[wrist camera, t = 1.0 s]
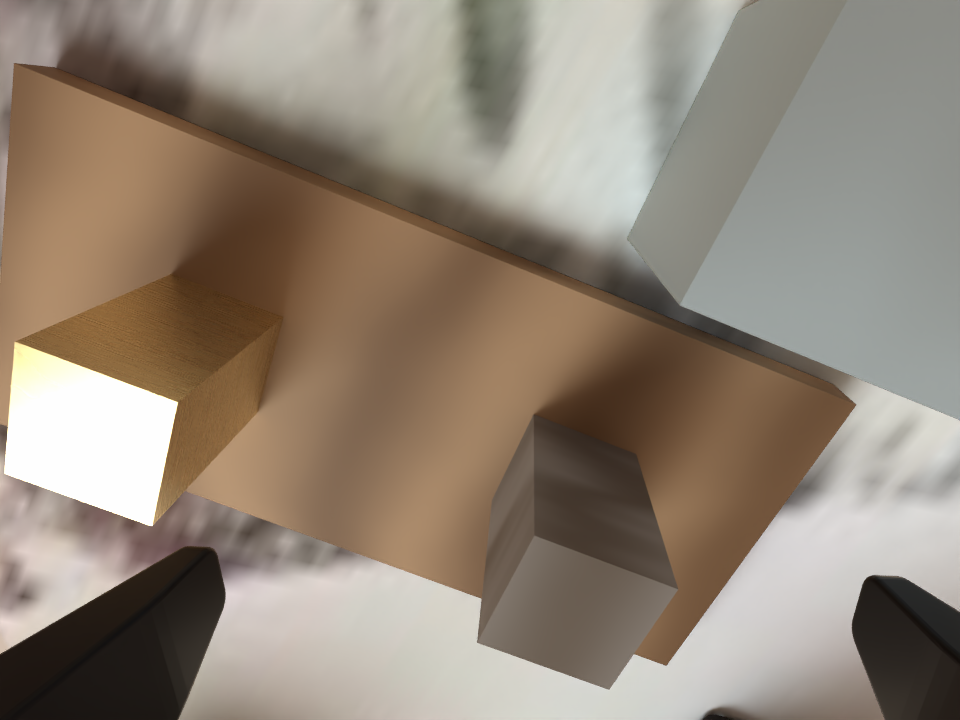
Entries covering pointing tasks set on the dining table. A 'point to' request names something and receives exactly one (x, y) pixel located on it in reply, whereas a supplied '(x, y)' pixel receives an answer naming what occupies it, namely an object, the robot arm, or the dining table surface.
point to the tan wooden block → (137, 394)
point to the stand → (423, 381)
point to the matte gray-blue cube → (825, 190)
